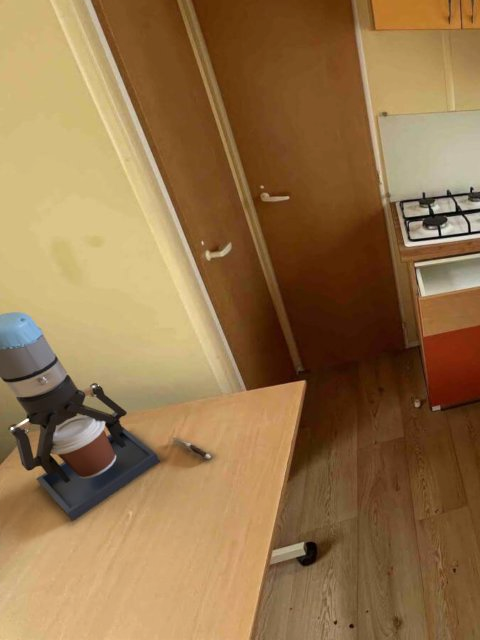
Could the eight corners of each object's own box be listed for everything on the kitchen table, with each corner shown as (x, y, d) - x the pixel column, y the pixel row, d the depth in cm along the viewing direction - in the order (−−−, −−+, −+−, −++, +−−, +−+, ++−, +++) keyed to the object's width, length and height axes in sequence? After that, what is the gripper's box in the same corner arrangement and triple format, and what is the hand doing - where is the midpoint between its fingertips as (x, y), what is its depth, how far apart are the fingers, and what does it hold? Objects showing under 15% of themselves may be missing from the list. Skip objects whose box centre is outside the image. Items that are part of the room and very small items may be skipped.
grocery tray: (42, 486, 92) (35, 478, 91) (127, 433, 104) (122, 426, 103) (73, 521, 85) (67, 513, 84) (160, 461, 97) (155, 453, 96)
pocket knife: (212, 458, 98) (210, 452, 97) (209, 461, 97) (206, 455, 97) (175, 438, 103) (172, 433, 102) (171, 441, 102) (168, 436, 101)
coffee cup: (84, 490, 88) (56, 452, 83) (59, 475, 91) (30, 437, 86) (133, 455, 96) (110, 418, 90) (108, 442, 99) (85, 405, 93)
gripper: (-35, 433, 72) (33, 512, 83) (118, 358, 89) (159, 431, 100) (-48, 416, 75) (19, 494, 86) (102, 347, 92) (143, 419, 103)
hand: (94, 460), depth 93 cm, fingers closed on coffee cup, 9 cm apart
